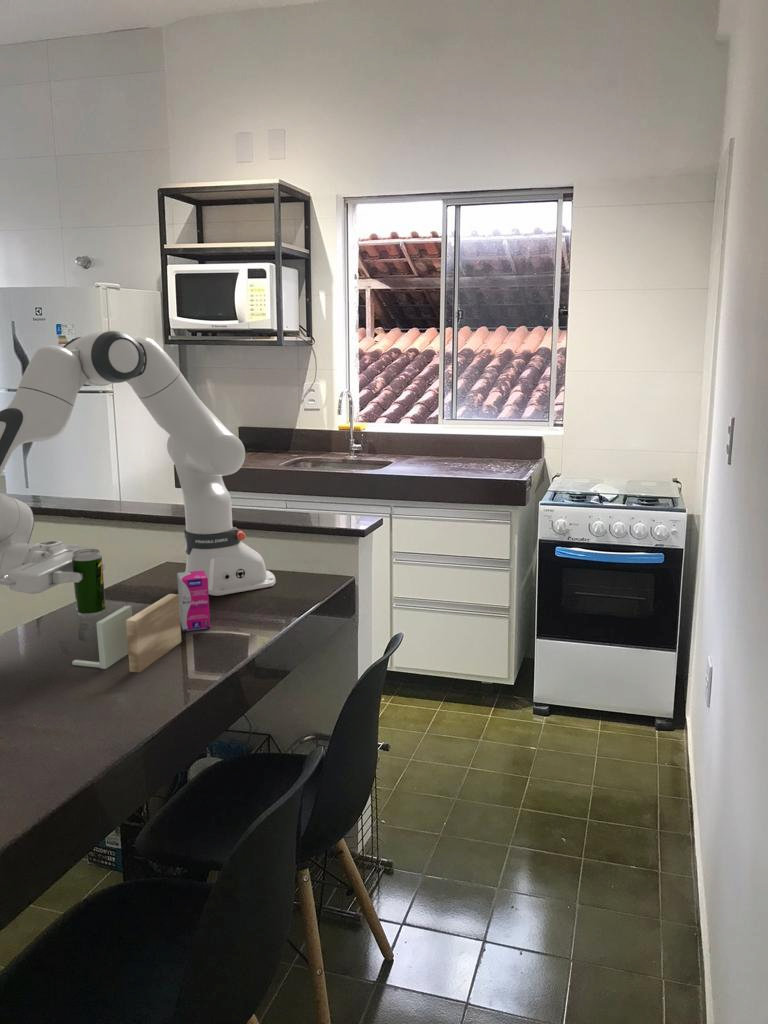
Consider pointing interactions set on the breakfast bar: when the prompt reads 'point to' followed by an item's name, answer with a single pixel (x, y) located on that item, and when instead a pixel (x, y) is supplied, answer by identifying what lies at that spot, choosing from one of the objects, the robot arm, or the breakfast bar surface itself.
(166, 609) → the oak board
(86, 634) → the breakfast bar surface
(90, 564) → the beer can
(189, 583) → the supplement box
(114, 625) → the white legged plate
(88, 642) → the breakfast bar surface
